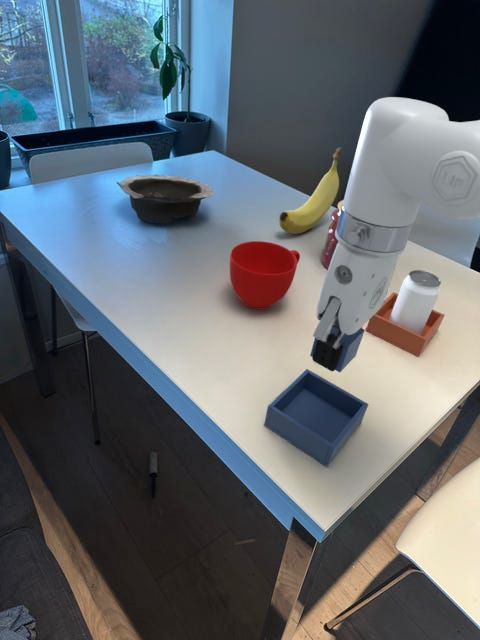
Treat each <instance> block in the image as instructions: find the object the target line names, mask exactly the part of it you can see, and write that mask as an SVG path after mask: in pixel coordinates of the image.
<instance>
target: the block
mask: <svg viewBox="0 0 480 640" xmlns="http://www.w3.org/2000/svg"><path fill="white" fill-rule="evenodd" d="M337 320H339V319H338V317H337ZM338 332H339V329H337V328H335V327H333V326H332V328H331V331H330V333H332V334H334V335H335V336H336V337H337V334H338ZM365 332H366V329H364V328H363V327H362V328H360V329H359V330H358V331H357V332H356V333H354V334H351V335H346V333H345V335H344V338H343V340H342V343H341V346H343V349H342V352H341V355H340V358H339V361H338V364H337V367H336V369H335V370H334V371H336V372H338V373H341V372H342V371H343V370H345V368H346V367H347V366H348V365H349V364H350V363H351V362H352V361H353V359H354V358H356V356H357V354H358V350H359V349H360V345H361V343H362V340H363V337H364V335H365V334H364V333H365ZM316 343H317V338H316V337H314V339H313V343H312V347H311V351H310V355H309V357H311V358H313V354H314V350H315V347H316Z"/></svg>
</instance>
